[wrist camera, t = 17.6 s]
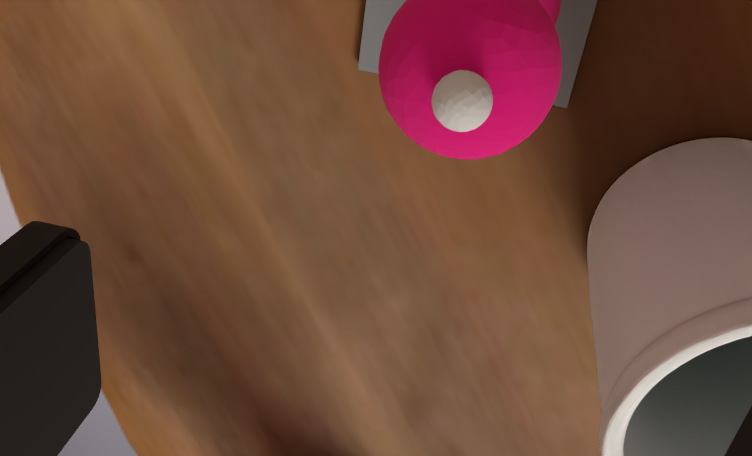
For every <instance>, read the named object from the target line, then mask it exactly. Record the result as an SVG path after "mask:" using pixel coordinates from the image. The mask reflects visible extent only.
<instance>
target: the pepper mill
mask: <svg viewBox="0 0 752 456" xmlns="http://www.w3.org/2000/svg"><path fill="white" fill-rule="evenodd" d="M560 7H561V0H407V1H406V2H405V3H404V4H403V5H402V6H401V7H400V9H399V10H398V11H397V12H396V13H395V15H394V17H393V18H392V20H391V22H390V24H389V26H388V28H387V30H386V32H385V35H384V38H383V41H382V46H381V51H380V56H379V67H378V71H379V81H380V87H381V92H382V97H383V99H384V102H385V104H386V107H387V110H388V111H389V113H390V114H391V116H392V117H393V119H394V120H395V122H396V123H397V125H398V126H399V127H400V128H401V130H402V131H403V132H404V133H405V134H406V135H407V136H408V137H409V138H411V139H412V140H413V141H414V142H416V143H417V144H418V145H420V146H421V147H423V148H425V149H427V150H429V151H431V152H433V153H436V154H439V155H442V156H446V157H449V158H457V159H481V158H485V157H490V156H494V155H497V154H500V153H503V152H505V151H507V150H508V149H510V148H512V147H514V146H516V145H518V144H520V143H521V142H522V141H523V140H525V139H526V138H527V137H528V136H530V135H531V134H532V133H533V132H534V131H535V130H536V129H537V128H538V127H539V125H540V124H541V123H542V122H543V121H544V119H545V117H546V116H547V114H548V112H549V110H550V109H551V107H552V105H553V103H554V101H555V98H556V95H557V93H558V90H559V85H560V80H561V75H562V54H561V47H560V41H559V35H558V33H557V31H556V28H555V25H556V22H557V19H558V16H559V13H560Z"/></svg>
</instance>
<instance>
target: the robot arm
mask: <svg viewBox="0 0 752 456" xmlns="http://www.w3.org/2000/svg"><path fill="white" fill-rule="evenodd" d="M100 390H101V371H100V359H99V348H98V336H97V325H96V313H95V302H94V290H93V279H92V267H91V256H90V249H89V246H88V244H87V243H86V242H84V241H81V240H80V236H79V234H78V232H77V231H76V230H74V229H72V228H67V227H62V226H58V225H53V224H48V223H44V222H39V221H32V222H30V223H29V224H27V225H25V226H24V227H23V228H22V229H20V230H19V231H18V232H17V233H15V234H14V235H13V236H11V237H10V238H9V239H8V240H6V241H5V242H4V243H3V244H1V245H0V456H57V455H58V454H59V453H60V451H61V450H62V449H63V447H64V446H65V445H66V443H67V442H68V441H69V439H70V438H71V437H72V435H73V434H74V433H75V431H76V430H77V428H78V427H79V426H80V424H81V423H82V422H83V420H84V419H85V418H86V416H87V415H88V414H89V413H90V411H91V410H92V408H93V407H94V405H95V404H96V401H97V399H98V397H99V394H100ZM724 456H752V406H751V408H750V410H749V411H748V413H747V415H746V417H745V419H744V421H743V422H742V424H741V426H740V428H739V430H738V432H737V433H736V435H735V437H734V439H733V441H732V443H731V444H730V446H729V448H728V450H727V452H726V454H725V455H724Z"/></svg>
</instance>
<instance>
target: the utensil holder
mask: <svg viewBox="0 0 752 456" xmlns="http://www.w3.org/2000/svg"><path fill="white" fill-rule="evenodd" d="M587 265H588V278H589V297H590V308H591V316H592V325H593V333H594V343H595V353H596V363H597V373H598V384H599V395H600V403H601V411H602V418H601V423H600V430H599V448H600V456H724V455H725V454H726V452H727V450H728V448H729V446H730V444H731V443H732V441H733V439H734V437H735V435H736V433H737V432H738V430H739V428H740V426H741V424H742V422H743V421H744V419H745V417H746V415H747V413H748V411H749V410H750V408H751V406H752V141H750V140H745V139H738V138H725V137H724V138H705V139H698V140H692V141H688V142H683V143H680V144H676V145H673V146H670V147H668V148H665V149H663V150H660V151H658V152H656V153H654V154H652V155H650V156H648V157H646V158H645V159H643V160H641V161H640V162H638V163H637V164H635V165H634V166H633V167H631V168H630V169H628V170H627V171H626V172H625V173H624V174H623V175H622V176H620V177H619V178H618V179H617V180H616V181H615V182H614V183H613V185H612V186H611V187H610V188H609V189H608V191H607V192H606V193H605V195H604V196H603V198H602V199H601V201H600V203H599V205H598V207H597V209H596V211H595V213H594V216H593V219H592V221H591V224H590V229H589V233H588V240H587Z"/></svg>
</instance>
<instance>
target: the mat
mask: <svg viewBox="0 0 752 456" xmlns="http://www.w3.org/2000/svg"><path fill="white" fill-rule="evenodd" d="M406 1H407V0H366V7H365V15H364V23H363V31H362V40H361V48H360V56H359V64H358V70H362V71H367V72H373V73H378V74H379V71H378V67H379V56H380V51H381V46H382V41H383V38H384V35H385V32H386V30H387V28H388V26H389V24H390V22H391V20H392V18H393V17H394V15H395V13H396V12H397V11H398V10H399V9H400V7H401V6H402V5H403V4H404V3H405V2H406ZM596 3H597V0H561V7H560V13H559V16H558V19H557V22H556V25H555V28H556V31H557V33H558V35H559V41H560V47H561V54H562V75H561V80H560V85H559V90H558V93H557V95H556V98H555V101H554V103H553V105H552V106H557V107H563V108H567V106H568V102H569V99H570V95H571V92H572V88H573V84H574V81H575V77H576V74H577V70H578V67H579V63H580V60H581V56H582V53H583V49H584V46H585V42H586V39H587V35H588V32H589V28H590V25H591V21H592V18H593V14H594V11H595V7H596Z"/></svg>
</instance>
